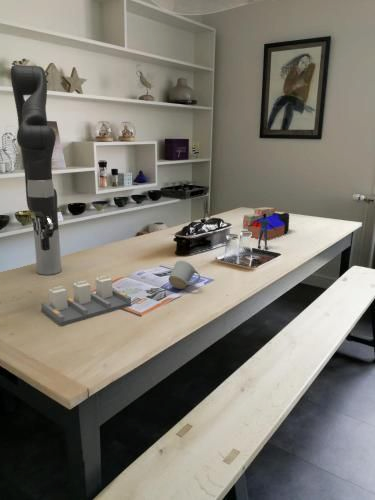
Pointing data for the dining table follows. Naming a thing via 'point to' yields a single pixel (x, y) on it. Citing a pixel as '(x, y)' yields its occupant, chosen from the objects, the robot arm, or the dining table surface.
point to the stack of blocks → (257, 215)
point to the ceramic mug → (182, 275)
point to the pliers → (205, 208)
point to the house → (268, 228)
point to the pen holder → (284, 220)
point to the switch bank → (87, 308)
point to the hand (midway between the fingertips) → (45, 249)
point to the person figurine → (263, 230)
